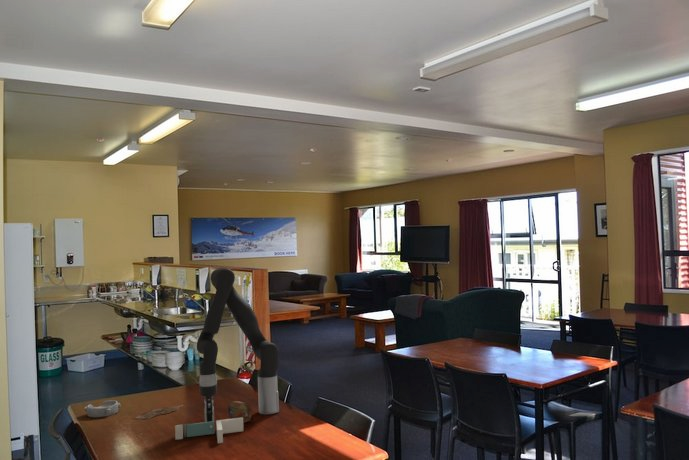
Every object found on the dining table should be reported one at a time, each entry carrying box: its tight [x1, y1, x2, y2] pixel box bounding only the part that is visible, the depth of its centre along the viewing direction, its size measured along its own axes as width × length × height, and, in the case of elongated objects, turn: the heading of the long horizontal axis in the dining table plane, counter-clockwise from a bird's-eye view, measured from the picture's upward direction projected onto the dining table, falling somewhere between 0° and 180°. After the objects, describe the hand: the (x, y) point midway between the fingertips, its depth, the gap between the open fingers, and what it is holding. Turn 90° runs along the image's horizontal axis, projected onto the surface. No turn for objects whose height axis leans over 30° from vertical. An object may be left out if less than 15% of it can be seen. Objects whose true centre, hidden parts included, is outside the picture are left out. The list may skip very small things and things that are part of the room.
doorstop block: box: [204, 405, 215, 422], centre depth 238 cm, size 4×4×7 cm
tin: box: [227, 400, 253, 424], centre depth 244 cm, size 15×3×8 cm, turn 47°
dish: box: [84, 399, 122, 418], centre depth 261 cm, size 14×14×5 cm
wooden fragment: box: [134, 404, 184, 420], centre depth 260 cm, size 26×11×1 cm, turn 137°
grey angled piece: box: [174, 417, 244, 444], centre depth 221 cm, size 28×13×5 cm, turn 106°
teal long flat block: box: [183, 420, 216, 438], centre depth 225 cm, size 13×2×5 cm, turn 106°
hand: (209, 421), depth 238 cm, fingers closed on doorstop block, 4 cm apart
